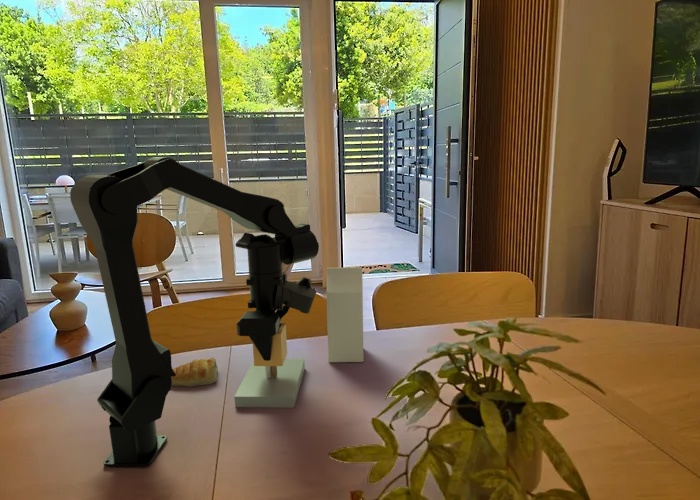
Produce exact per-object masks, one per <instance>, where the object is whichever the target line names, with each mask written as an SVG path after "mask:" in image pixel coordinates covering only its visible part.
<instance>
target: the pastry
mask: <svg viewBox="0 0 700 500" xmlns="http://www.w3.org/2000/svg"><path fill="white" fill-rule="evenodd" d="M172 369H173V371H174V372H175V374H176V376H171V377H172V387H176V386H177V387H179V386H180V387H181V386H182V387H188V388H189V387H195V386H196V387H197V386H205V385H206V386H207V385H212V384H215V383H216V382H217V381H218V372H219V367H218V365H217V362H216V358H215V357H213V356H212V357H210V358H202V359H194V360H192V361H190V362H187V363H185V364H181V365H179V366H177V367H174V368H172Z"/></svg>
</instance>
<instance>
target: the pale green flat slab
mask: <svg viewBox="0 0 700 500" xmlns="http://www.w3.org/2000/svg"><path fill="white" fill-rule="evenodd" d="M305 364H306V363H305V358H285V361H284V363H283V366H254V360H253V361H252V363H251V364H250V367H249V368H248V370H247V372H246V374H245V376H243V377H244V378H243V380H242V382H241V383H240V385H239V387H238V389H237V391H236V392H235V394H234V407H235V408H295V405H296V401H297V398H298V394H299V390H300V388H301V385H302V380H303V377H304V373H305V368H306V365H305Z"/></svg>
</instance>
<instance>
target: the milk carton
mask: <svg viewBox="0 0 700 500" xmlns="http://www.w3.org/2000/svg"><path fill="white" fill-rule="evenodd" d="M363 287H364V285H363V267H326V292H325V293H326V295H325V296H326V323H327V353H328V354H327V356H328V360H327V361H328V362H329V363H364V307H363V306H364V304H363V303H364V300H363V299H364V298H363V297H364V295H363V293H364V292H363V289H364V288H363Z"/></svg>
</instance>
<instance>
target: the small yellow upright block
mask: <svg viewBox="0 0 700 500" xmlns="http://www.w3.org/2000/svg"><path fill="white" fill-rule="evenodd" d="M280 324H282V325H281V327H280V329H279V331H278V332H277V334H276V335H274V336H273V345H272V353H271V359H270V360H269V361H265V360H264V359H263V358H262V356H261V354H260V353H259V351H258V349H257V348H256V346H255V345H254V343H253V342H252V353H253V356H252V357H253V361H254V366H283V363H284V361H285V359H287V355H288V342H287V326H286V325H287V324H286V323H282V322H281V323H280Z"/></svg>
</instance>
